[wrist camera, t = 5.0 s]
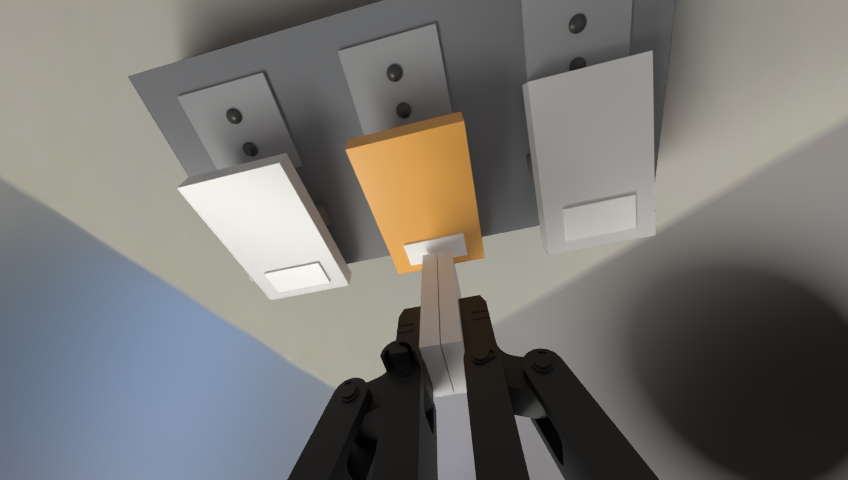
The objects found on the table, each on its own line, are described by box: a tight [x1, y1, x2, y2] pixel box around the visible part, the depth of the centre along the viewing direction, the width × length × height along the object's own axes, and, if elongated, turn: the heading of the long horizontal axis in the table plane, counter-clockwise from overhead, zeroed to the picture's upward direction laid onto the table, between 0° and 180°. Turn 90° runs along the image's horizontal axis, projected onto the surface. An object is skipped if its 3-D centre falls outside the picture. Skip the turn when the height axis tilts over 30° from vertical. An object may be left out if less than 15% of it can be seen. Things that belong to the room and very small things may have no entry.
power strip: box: [128, 0, 675, 283], centre depth 17 cm, size 12×24×4 cm, turn 103°
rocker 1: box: [177, 153, 351, 300], centre depth 17 cm, size 8×5×1 cm, turn 13°
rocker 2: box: [345, 111, 485, 274], centre depth 16 cm, size 8×5×1 cm, turn 13°
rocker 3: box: [522, 50, 655, 255], centre depth 15 cm, size 8×5×1 cm, turn 14°
